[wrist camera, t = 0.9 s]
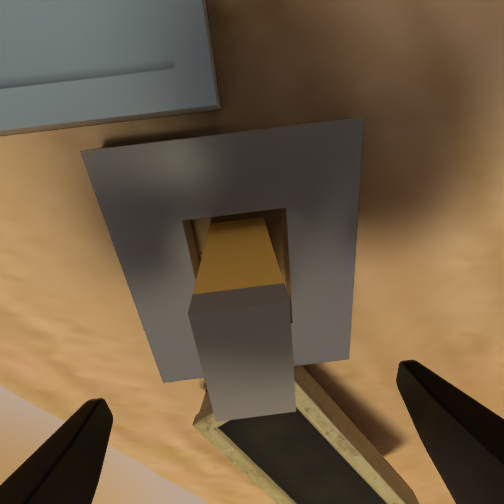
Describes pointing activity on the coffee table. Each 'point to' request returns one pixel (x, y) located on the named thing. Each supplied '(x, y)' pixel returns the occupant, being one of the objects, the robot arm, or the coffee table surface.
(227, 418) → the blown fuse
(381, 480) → the box
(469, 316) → the coffee table surface
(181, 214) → the socket block
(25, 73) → the parts tray
